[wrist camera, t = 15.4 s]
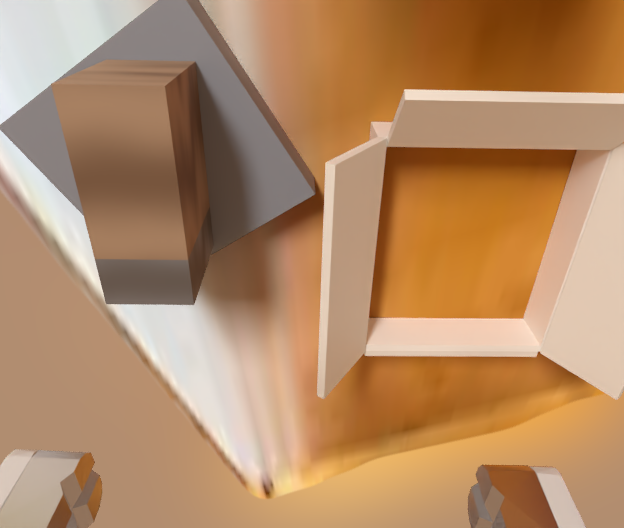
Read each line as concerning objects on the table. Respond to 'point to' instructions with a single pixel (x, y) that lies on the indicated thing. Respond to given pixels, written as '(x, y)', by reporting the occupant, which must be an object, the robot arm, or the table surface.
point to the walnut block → (140, 176)
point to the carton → (556, 260)
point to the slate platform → (214, 117)
